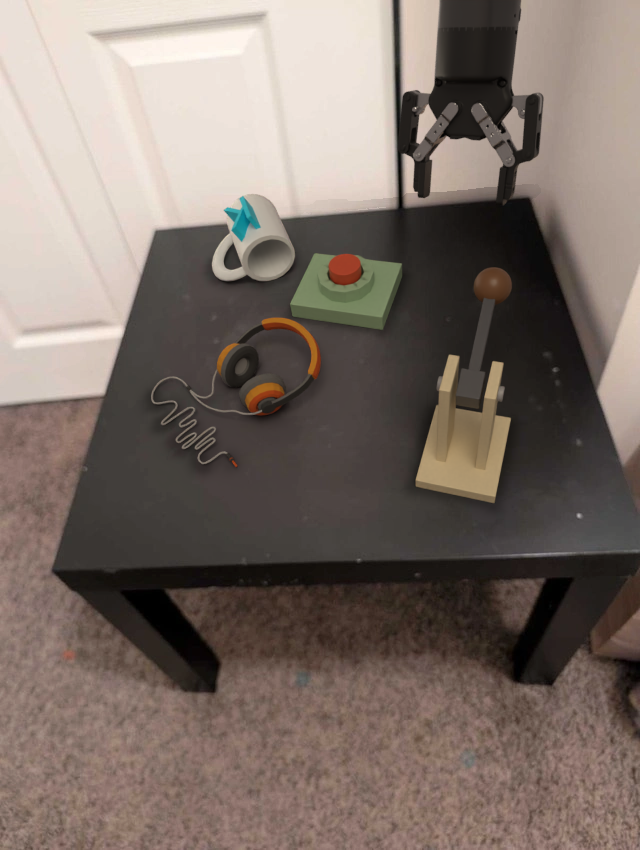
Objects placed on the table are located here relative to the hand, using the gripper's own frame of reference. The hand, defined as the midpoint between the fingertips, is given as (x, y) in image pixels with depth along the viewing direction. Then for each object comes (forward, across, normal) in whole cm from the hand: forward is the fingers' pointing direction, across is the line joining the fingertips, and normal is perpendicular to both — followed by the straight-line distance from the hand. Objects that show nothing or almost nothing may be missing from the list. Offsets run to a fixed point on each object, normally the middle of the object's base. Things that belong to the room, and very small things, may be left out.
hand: (461, 200), depth 72 cm
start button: (+11, -15, +2) cm, 18 cm away
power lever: (+11, +7, -12) cm, 17 cm away
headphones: (+22, -20, -15) cm, 33 cm away
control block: (+14, -15, +3) cm, 21 cm away
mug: (+12, -31, +6) cm, 34 cm away
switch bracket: (+23, +6, -13) cm, 27 cm away
